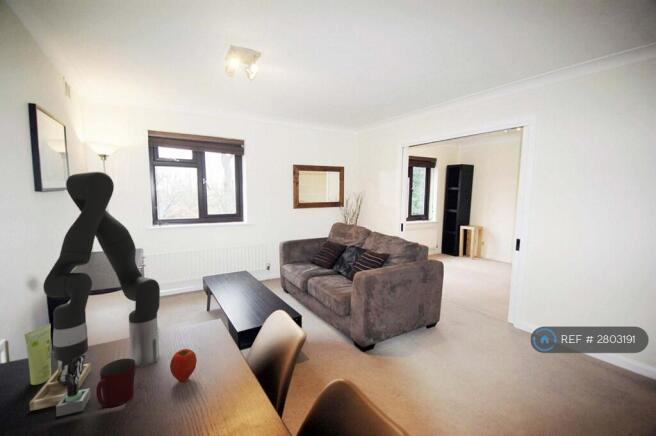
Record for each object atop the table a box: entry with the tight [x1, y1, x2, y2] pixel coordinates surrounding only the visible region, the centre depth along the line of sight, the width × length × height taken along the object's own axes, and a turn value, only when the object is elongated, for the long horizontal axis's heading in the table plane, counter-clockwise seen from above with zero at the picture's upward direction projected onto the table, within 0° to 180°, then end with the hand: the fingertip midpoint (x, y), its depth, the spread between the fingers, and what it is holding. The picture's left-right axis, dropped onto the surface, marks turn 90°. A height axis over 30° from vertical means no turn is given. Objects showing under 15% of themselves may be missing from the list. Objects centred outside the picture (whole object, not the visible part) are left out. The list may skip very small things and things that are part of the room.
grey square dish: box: [55, 387, 91, 420], centre depth 84 cm, size 6×6×4 cm
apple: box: [169, 348, 197, 383], centre depth 98 cm, size 9×8×11 cm
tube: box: [24, 323, 52, 386], centre depth 95 cm, size 6×5×20 cm
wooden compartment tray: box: [29, 362, 92, 412], centre depth 92 cm, size 9×18×4 cm, turn 24°
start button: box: [66, 389, 82, 403], centre depth 84 cm, size 4×4×3 cm
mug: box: [95, 357, 136, 409], centre depth 87 cm, size 12×9×11 cm
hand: (73, 394), depth 84 cm, fingers closed
